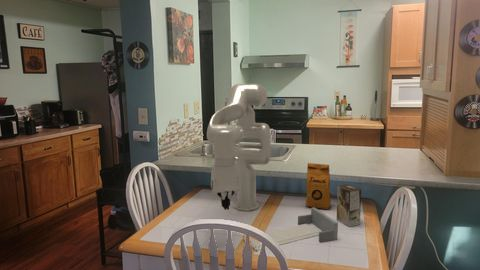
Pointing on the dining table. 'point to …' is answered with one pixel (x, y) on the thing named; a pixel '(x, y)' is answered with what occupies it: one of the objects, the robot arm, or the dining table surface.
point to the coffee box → (348, 205)
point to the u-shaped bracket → (321, 224)
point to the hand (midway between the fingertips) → (225, 207)
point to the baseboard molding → (288, 235)
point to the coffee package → (318, 186)
